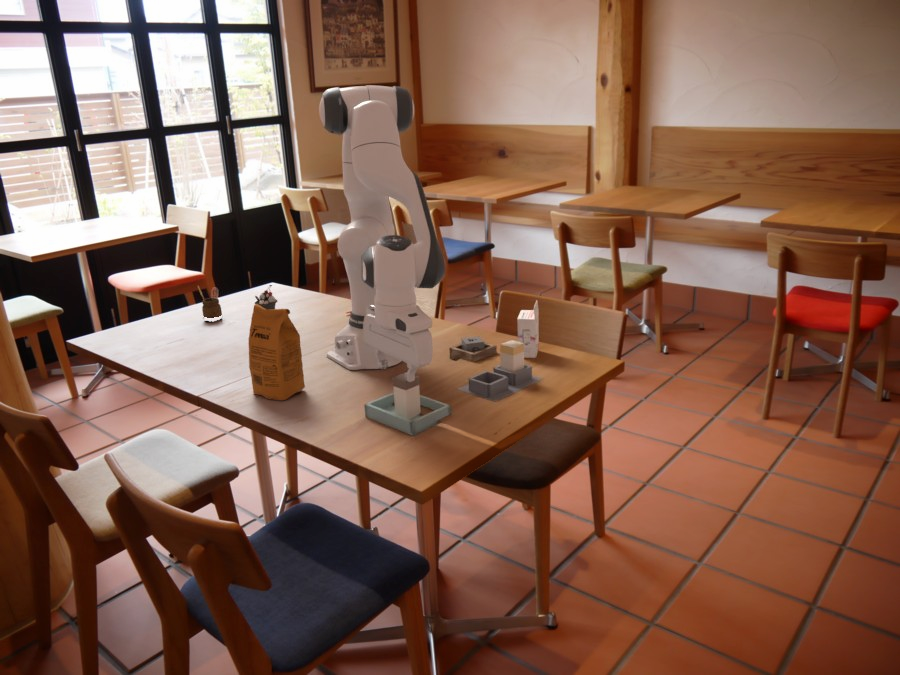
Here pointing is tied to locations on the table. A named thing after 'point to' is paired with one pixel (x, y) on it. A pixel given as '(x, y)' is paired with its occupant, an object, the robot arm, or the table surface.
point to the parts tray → (385, 414)
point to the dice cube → (472, 344)
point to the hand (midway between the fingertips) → (396, 374)
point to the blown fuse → (406, 396)
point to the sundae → (266, 300)
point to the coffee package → (274, 354)
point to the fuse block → (499, 382)
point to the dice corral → (458, 353)
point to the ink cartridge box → (529, 331)
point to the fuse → (512, 356)
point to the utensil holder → (211, 306)
